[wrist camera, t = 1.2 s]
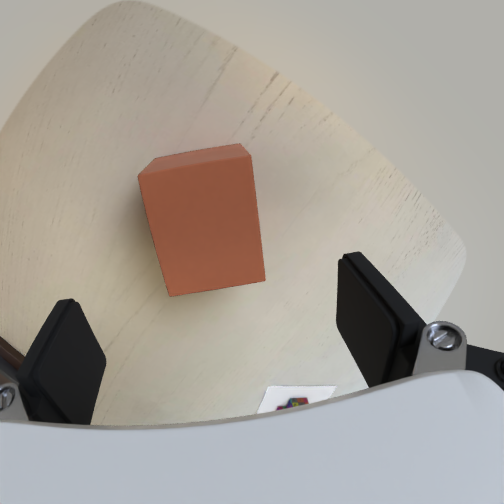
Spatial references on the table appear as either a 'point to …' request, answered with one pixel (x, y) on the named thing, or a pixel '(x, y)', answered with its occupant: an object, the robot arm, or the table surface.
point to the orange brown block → (204, 219)
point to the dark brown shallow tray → (9, 363)
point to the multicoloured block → (293, 396)
